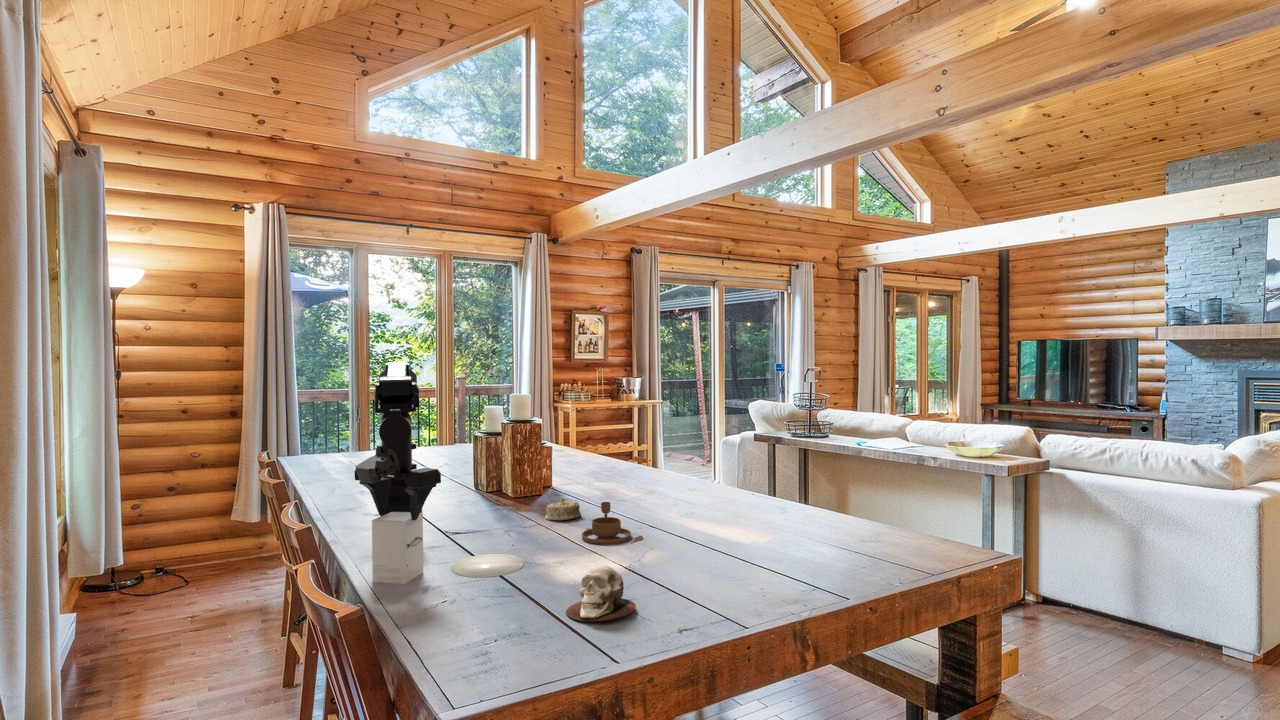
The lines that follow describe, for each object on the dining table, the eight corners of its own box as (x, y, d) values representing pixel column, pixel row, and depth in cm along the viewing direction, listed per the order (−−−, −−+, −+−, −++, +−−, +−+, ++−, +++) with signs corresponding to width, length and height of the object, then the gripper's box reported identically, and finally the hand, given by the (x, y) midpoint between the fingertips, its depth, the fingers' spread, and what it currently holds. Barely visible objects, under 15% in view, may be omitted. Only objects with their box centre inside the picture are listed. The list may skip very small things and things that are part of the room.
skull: (618, 623, 113) (576, 574, 115) (583, 659, 117) (544, 610, 120) (652, 593, 123) (613, 549, 126) (619, 626, 127) (582, 582, 130)
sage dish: (435, 571, 145) (435, 569, 145) (484, 552, 158) (484, 550, 158) (491, 582, 137) (491, 580, 137) (538, 561, 151) (538, 559, 151)
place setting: (561, 542, 167) (561, 517, 167) (601, 523, 185) (601, 501, 185) (626, 551, 160) (626, 525, 160) (662, 530, 178) (662, 507, 178)
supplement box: (405, 585, 136) (404, 520, 136) (371, 583, 138) (370, 519, 138) (424, 573, 143) (423, 512, 143) (391, 571, 145) (390, 510, 145)
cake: (588, 517, 191) (588, 497, 191) (560, 524, 184) (560, 503, 183) (564, 511, 198) (564, 492, 198) (536, 518, 190) (536, 498, 190)
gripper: (330, 442, 138) (332, 521, 138) (398, 448, 129) (399, 532, 129) (376, 435, 147) (378, 509, 148) (442, 440, 138) (443, 519, 139)
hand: (397, 517), depth 141 cm, fingers open, 9 cm apart
